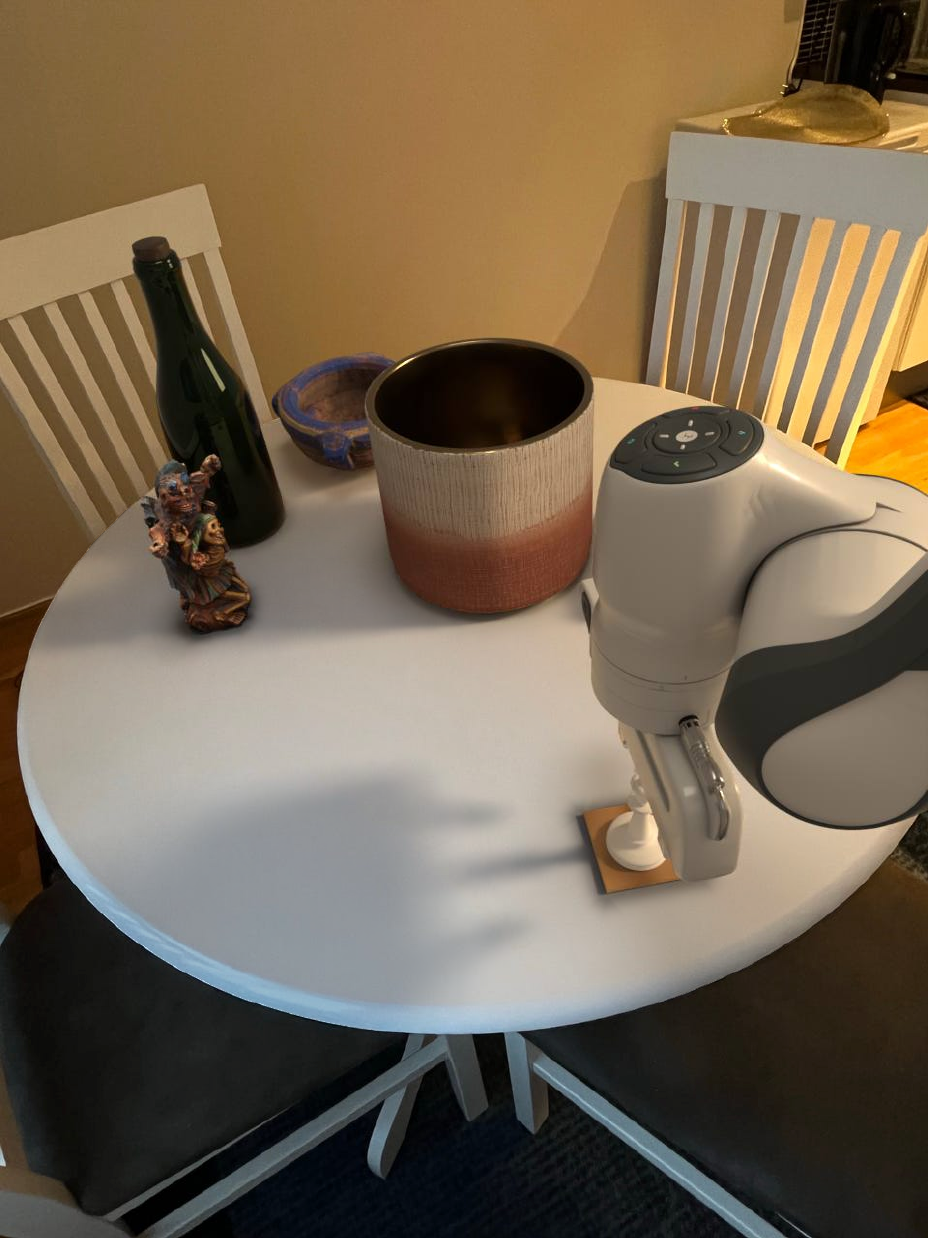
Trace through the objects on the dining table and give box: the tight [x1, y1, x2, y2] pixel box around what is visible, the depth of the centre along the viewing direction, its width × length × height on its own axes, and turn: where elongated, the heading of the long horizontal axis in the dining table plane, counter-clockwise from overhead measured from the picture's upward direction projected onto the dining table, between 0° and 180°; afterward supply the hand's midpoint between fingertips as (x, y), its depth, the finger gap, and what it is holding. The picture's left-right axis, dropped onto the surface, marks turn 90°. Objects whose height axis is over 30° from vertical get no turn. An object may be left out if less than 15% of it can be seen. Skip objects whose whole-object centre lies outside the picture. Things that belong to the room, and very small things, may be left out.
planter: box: [365, 337, 595, 614], centre depth 85 cm, size 22×22×20 cm
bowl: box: [271, 351, 398, 472], centre depth 105 cm, size 18×18×10 cm
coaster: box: [582, 803, 681, 894], centre depth 65 cm, size 7×7×1 cm
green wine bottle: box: [131, 235, 286, 547], centre depth 89 cm, size 10×10×33 cm
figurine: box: [140, 454, 253, 635], centre depth 82 cm, size 11×9×18 cm
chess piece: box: [606, 767, 666, 871], centre depth 62 cm, size 5×5×10 cm
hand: (651, 791), depth 60 cm, fingers open, 8 cm apart
